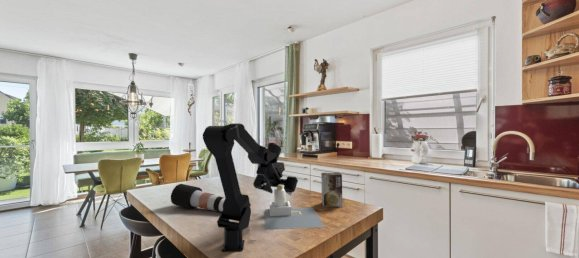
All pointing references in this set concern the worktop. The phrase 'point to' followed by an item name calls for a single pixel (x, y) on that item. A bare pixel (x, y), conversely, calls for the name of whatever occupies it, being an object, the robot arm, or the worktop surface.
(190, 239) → the worktop surface
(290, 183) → the robot arm
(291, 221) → the board
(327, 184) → the coffee box
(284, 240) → the worktop surface
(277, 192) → the white cylindrical bottle
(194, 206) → the telephoto camera lens
